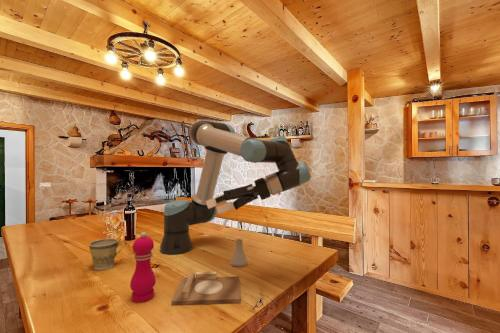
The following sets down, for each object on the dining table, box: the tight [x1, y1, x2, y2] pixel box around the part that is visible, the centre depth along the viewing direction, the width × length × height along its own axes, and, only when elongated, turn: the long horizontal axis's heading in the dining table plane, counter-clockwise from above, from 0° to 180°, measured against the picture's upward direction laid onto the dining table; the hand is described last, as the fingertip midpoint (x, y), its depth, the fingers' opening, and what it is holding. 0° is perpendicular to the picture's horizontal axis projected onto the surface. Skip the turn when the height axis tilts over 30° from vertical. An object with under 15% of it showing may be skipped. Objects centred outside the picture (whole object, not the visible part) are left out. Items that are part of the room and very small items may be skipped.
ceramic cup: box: [88, 237, 127, 271], centre depth 98 cm, size 13×10×10 cm
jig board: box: [170, 271, 241, 306], centre depth 78 cm, size 20×15×3 cm
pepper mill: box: [129, 231, 156, 303], centre depth 75 cm, size 7×7×20 cm
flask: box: [230, 238, 248, 268], centre depth 101 cm, size 7×7×10 cm
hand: (212, 208), depth 87 cm, fingers open, 13 cm apart
